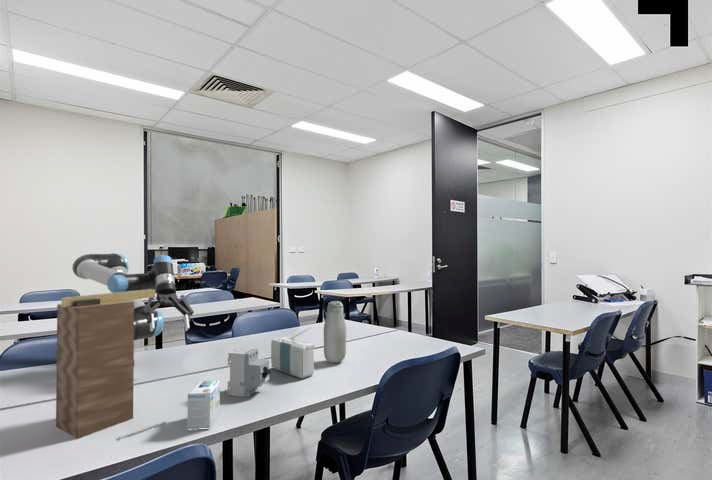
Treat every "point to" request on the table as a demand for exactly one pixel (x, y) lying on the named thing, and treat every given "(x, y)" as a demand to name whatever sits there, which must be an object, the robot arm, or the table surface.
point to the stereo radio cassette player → (293, 356)
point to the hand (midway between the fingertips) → (170, 329)
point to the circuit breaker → (246, 371)
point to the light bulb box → (203, 404)
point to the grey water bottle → (334, 333)
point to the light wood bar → (110, 297)
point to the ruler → (141, 430)
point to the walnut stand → (94, 366)
